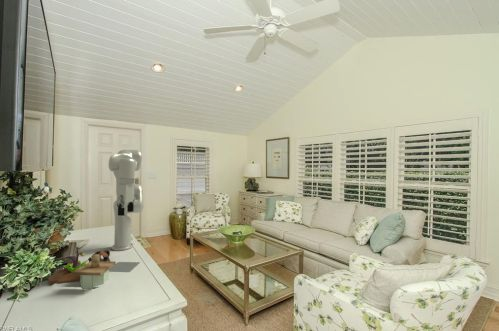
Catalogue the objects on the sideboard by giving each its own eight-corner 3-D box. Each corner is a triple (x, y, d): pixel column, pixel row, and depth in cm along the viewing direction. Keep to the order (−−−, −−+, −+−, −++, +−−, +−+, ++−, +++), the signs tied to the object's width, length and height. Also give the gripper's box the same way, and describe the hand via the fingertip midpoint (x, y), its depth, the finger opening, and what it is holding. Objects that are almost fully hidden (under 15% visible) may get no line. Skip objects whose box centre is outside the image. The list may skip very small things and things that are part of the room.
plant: (88, 285, 110) (88, 260, 110) (39, 287, 107) (40, 262, 107) (106, 266, 129) (107, 245, 129) (66, 268, 126) (67, 246, 126)
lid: (90, 263, 117) (91, 250, 117) (115, 264, 117) (115, 251, 117) (72, 274, 105) (72, 260, 105) (100, 275, 105) (100, 261, 105)
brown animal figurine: (105, 268, 127) (96, 256, 125) (91, 275, 128) (81, 263, 126) (118, 254, 139) (109, 243, 137) (104, 260, 140) (96, 249, 138)
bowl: (90, 277, 116) (91, 264, 116) (112, 278, 116) (112, 264, 116) (75, 289, 105) (75, 274, 105) (99, 289, 105) (99, 274, 105)
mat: (118, 263, 133) (118, 261, 133) (140, 264, 133) (140, 262, 133) (105, 273, 121) (105, 271, 121) (129, 274, 121) (129, 272, 121)
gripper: (127, 180, 138) (127, 210, 138) (110, 182, 121) (109, 216, 121) (140, 180, 138) (140, 210, 138) (125, 183, 121) (124, 217, 121)
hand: (125, 213), depth 129 cm, fingers open, 9 cm apart
